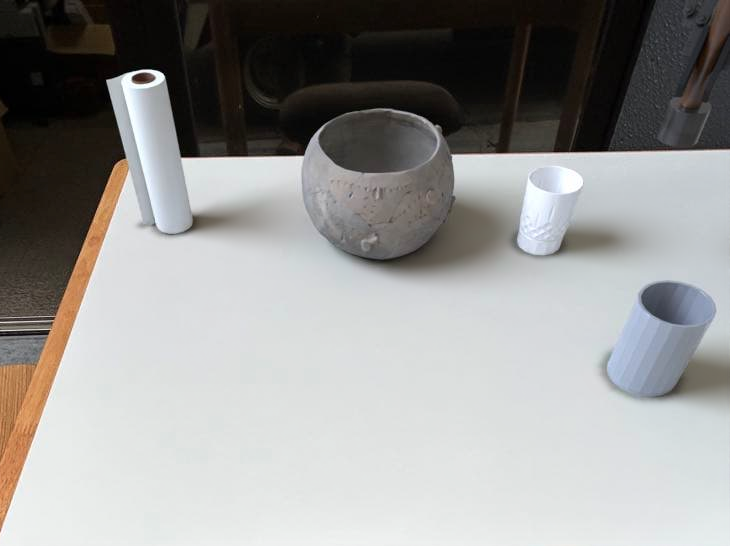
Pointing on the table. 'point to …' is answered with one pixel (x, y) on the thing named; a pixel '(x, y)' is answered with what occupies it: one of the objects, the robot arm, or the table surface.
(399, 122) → the bowl
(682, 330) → the tumbler
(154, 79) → the paper towel roll
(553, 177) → the white cup
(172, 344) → the table surface
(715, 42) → the brush
